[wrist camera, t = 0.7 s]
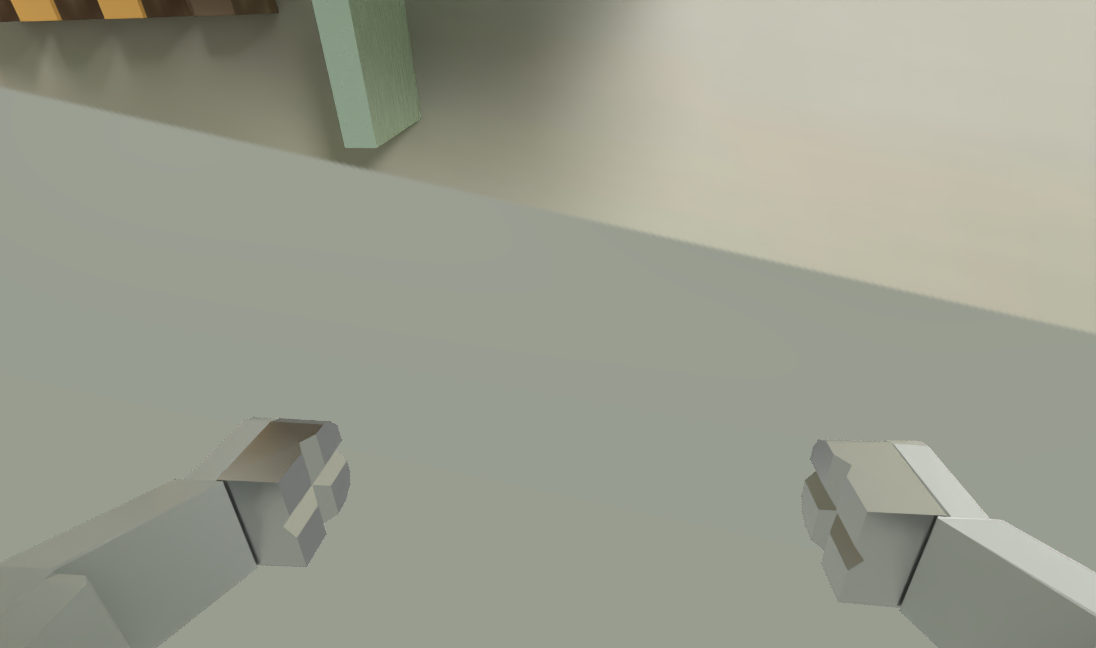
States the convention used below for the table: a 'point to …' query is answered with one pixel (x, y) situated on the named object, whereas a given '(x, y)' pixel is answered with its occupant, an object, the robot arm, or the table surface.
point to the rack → (127, 9)
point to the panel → (369, 68)
